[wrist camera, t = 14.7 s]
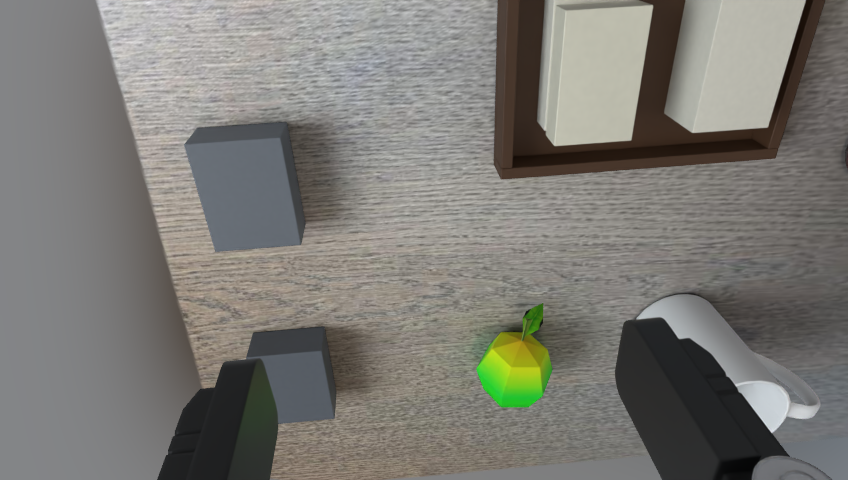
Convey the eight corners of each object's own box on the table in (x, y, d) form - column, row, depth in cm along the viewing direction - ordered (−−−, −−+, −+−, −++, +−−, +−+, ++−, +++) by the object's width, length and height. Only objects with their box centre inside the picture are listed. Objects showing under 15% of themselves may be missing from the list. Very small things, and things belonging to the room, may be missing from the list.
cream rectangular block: (687, -12, 34) (722, -4, 30) (765, -17, 34) (809, -9, 31) (663, 113, 38) (692, 133, 35) (732, 108, 38) (768, 127, 35)
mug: (616, 357, 51) (669, 453, 42) (645, 289, 47) (710, 379, 38) (734, 362, 52) (809, 455, 44) (772, 297, 49) (862, 385, 40)
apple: (523, 439, 44) (543, 358, 40) (458, 401, 47) (470, 321, 43) (559, 388, 49) (581, 311, 45) (499, 357, 52) (513, 281, 48)
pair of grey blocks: (196, 127, 36) (183, 144, 34) (287, 121, 37) (280, 137, 34) (271, 399, 50) (265, 425, 47) (336, 392, 50) (334, 418, 48)
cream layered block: (544, -6, 33) (564, 4, 30) (626, -10, 34) (654, -1, 30) (536, 125, 38) (552, 146, 34) (608, 120, 38) (631, 140, 34)
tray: (499, -65, 32) (508, -63, 30) (819, -83, 33) (851, -82, 31) (493, 164, 40) (500, 179, 37) (753, 145, 40) (775, 158, 38)
